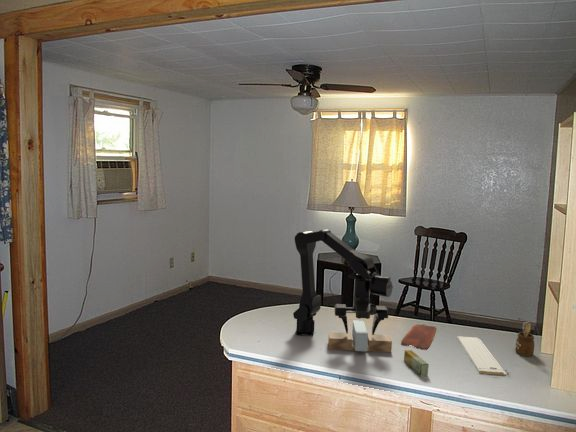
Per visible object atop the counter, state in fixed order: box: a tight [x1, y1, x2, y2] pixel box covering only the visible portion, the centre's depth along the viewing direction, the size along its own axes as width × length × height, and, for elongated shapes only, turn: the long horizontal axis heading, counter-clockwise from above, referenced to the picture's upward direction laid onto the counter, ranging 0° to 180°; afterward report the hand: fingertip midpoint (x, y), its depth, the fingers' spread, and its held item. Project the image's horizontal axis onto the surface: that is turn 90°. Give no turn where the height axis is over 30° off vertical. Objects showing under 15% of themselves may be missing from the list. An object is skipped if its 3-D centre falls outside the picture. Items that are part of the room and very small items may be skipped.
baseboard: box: [456, 335, 510, 376], centre depth 166 cm, size 30×3×10 cm
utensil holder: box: [514, 321, 535, 357], centre depth 168 cm, size 6×6×12 cm
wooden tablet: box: [400, 323, 437, 350], centre depth 182 cm, size 27×10×2 cm, turn 153°
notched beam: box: [327, 331, 393, 353], centre depth 169 cm, size 22×6×4 cm, turn 87°
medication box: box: [403, 349, 429, 377], centre depth 154 cm, size 12×3×4 cm, turn 13°
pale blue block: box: [351, 319, 369, 352], centre depth 169 cm, size 14×4×6 cm, turn 177°
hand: (359, 334), depth 169 cm, fingers open, 9 cm apart
